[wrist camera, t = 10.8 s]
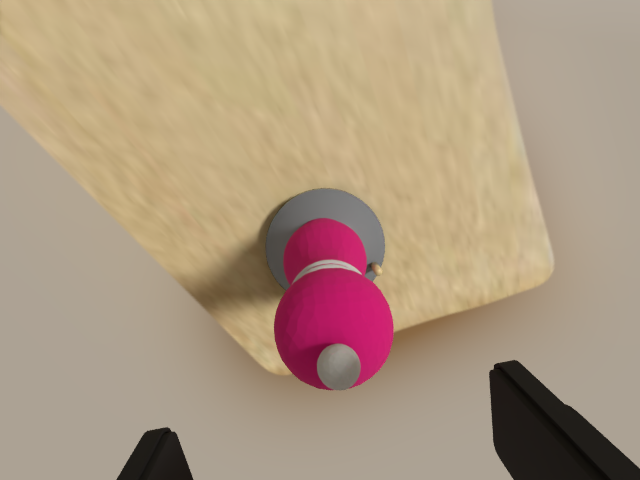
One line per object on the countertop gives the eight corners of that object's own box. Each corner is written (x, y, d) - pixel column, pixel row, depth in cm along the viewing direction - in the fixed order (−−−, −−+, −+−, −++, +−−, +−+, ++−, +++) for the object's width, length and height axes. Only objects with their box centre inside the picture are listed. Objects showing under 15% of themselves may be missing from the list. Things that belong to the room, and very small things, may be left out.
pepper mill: (294, 287, 32) (265, 470, 13) (281, 218, 31) (225, 308, 11) (363, 276, 32) (441, 444, 13) (354, 207, 30) (427, 276, 11)
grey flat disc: (253, 280, 33) (246, 291, 30) (288, 171, 31) (285, 171, 28) (358, 313, 34) (362, 328, 31) (399, 211, 32) (409, 215, 29)
